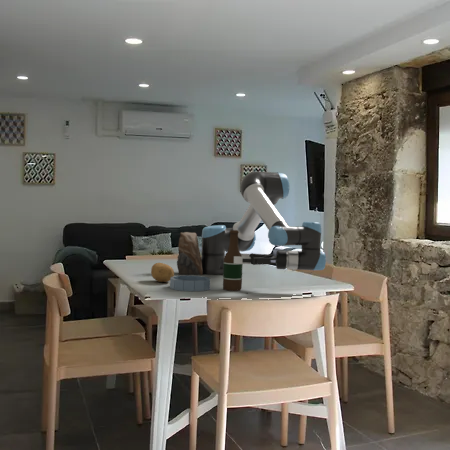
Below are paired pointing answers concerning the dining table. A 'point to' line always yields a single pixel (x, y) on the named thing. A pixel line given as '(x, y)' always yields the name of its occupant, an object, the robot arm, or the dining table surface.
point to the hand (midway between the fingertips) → (233, 258)
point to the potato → (162, 272)
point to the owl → (189, 255)
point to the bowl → (190, 283)
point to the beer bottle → (232, 265)
